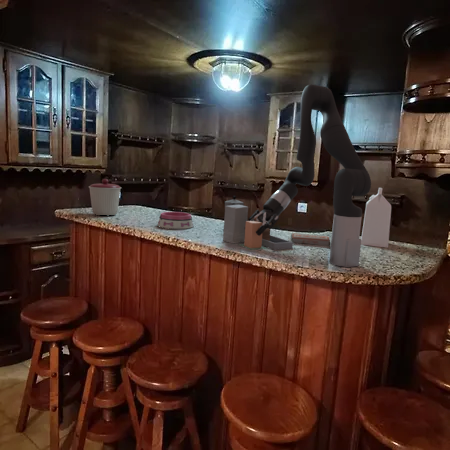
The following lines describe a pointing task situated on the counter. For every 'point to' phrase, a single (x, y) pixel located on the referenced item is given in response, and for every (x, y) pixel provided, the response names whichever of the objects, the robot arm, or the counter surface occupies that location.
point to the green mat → (252, 248)
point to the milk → (376, 221)
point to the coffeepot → (233, 203)
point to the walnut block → (266, 234)
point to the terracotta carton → (252, 234)
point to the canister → (104, 198)
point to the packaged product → (310, 240)
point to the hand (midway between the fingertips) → (251, 232)
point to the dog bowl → (175, 220)
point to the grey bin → (277, 243)
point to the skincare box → (235, 223)
